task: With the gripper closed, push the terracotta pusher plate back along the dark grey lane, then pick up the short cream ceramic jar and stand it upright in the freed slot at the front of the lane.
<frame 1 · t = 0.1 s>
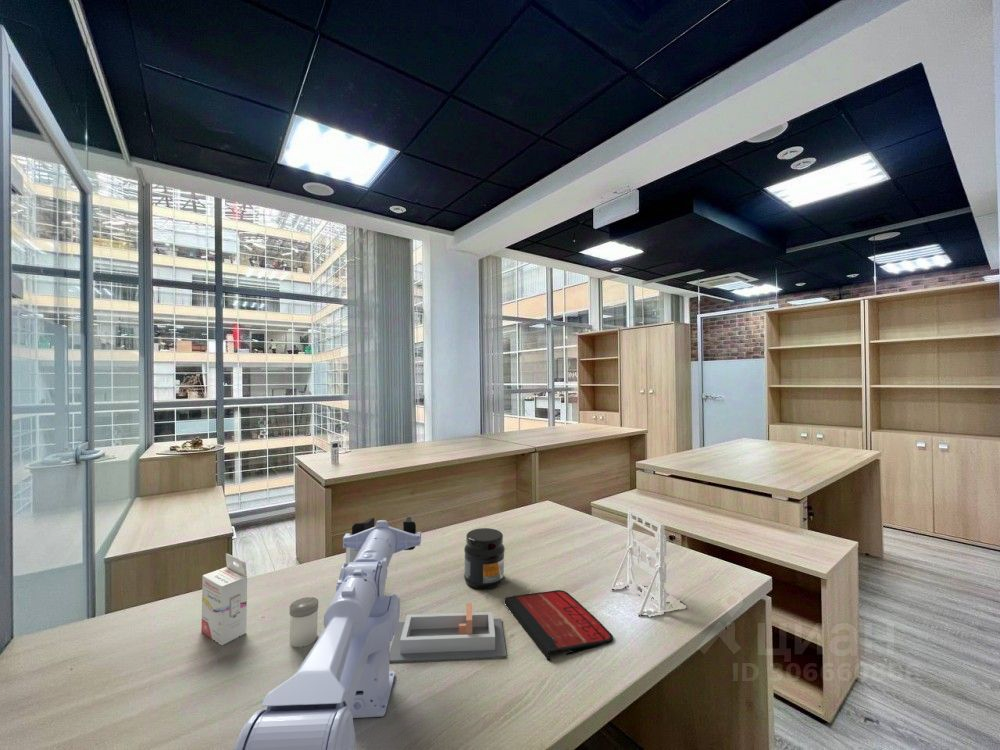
hand: (391, 521, 88), 22 cm above the table, tool horizontal, fingers open, 7 cm apart
ink cartridge box: (223, 634, 84), on the table
jar: (303, 639, 82), on the table
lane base: (448, 639, 82), on the table
skincare box: (359, 590, 101), on the table
pusher: (465, 624, 82), point 3 cm above the table, slide at 0.0 cm
supplement container: (484, 581, 107), on the table
binder: (556, 624, 89), on the table
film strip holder: (647, 599, 99), on the table
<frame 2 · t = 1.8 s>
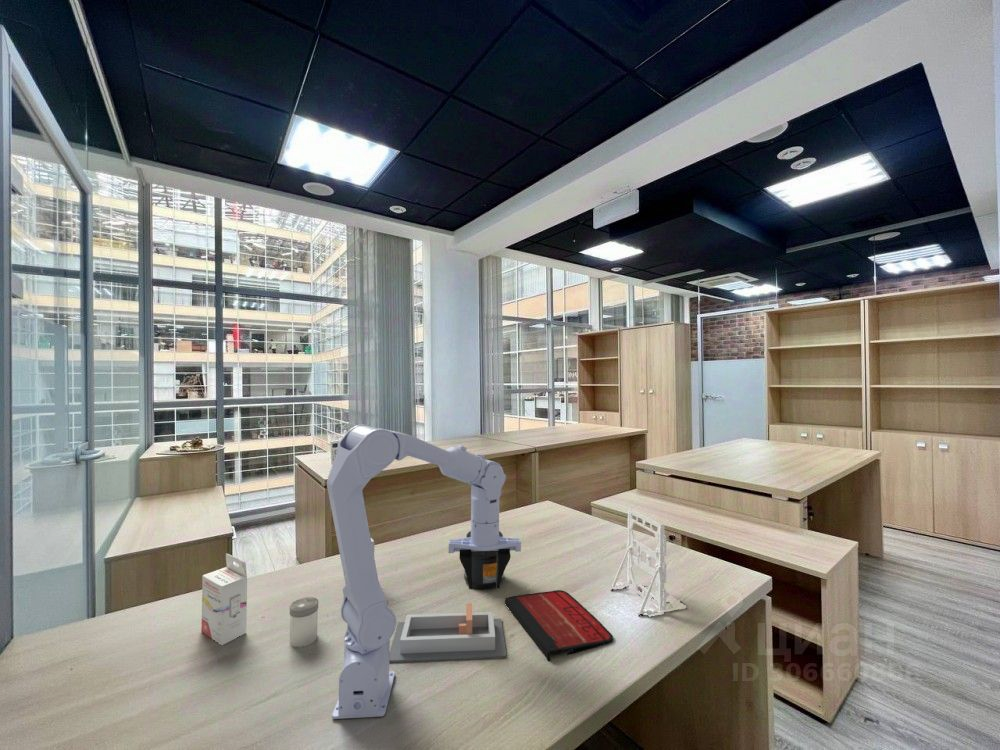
hand: (484, 586, 83), 10 cm above the table, tool pointing down, fingers open, 5 cm apart
nothing on the table moved.
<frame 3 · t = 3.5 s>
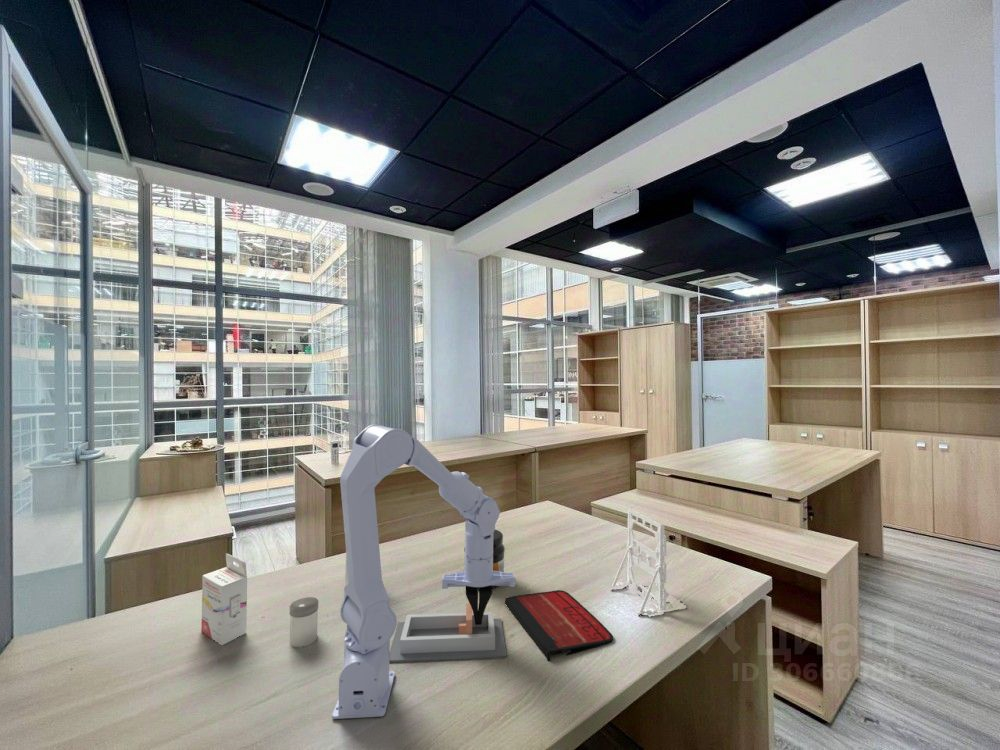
hand: (478, 621, 83), 3 cm above the table, tool pointing down, fingers closed
pusher: (465, 624, 82), point 3 cm above the table, slide at 0.0 cm, touching gripper
everything else where it was.
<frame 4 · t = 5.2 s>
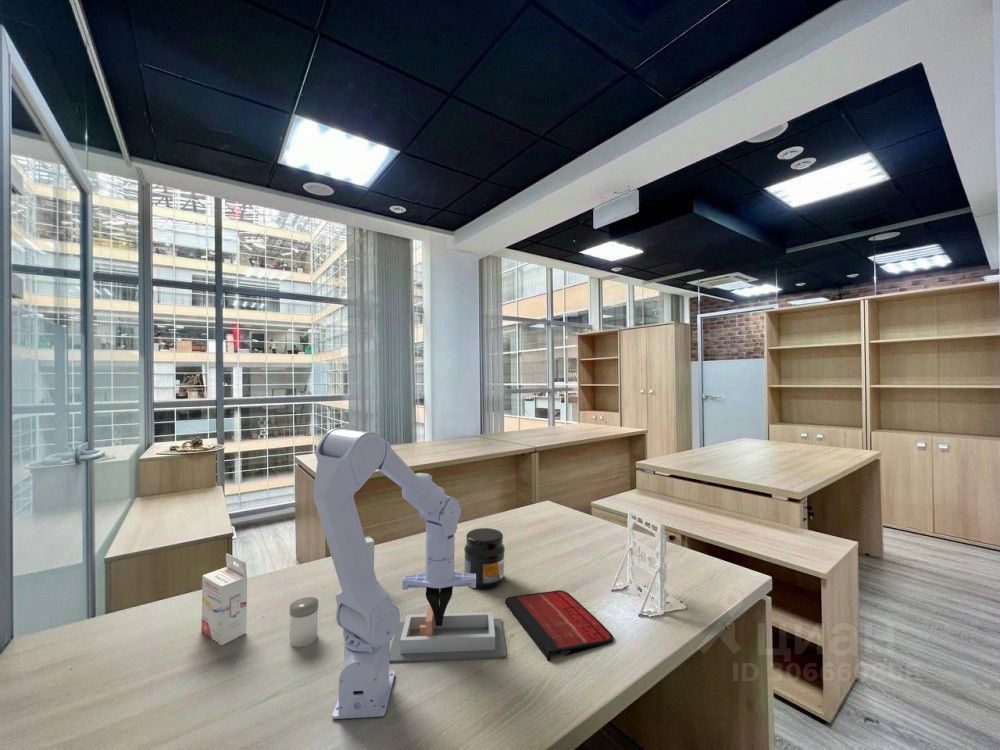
hand: (439, 623, 82), 3 cm above the table, tool pointing down, fingers closed
pusher: (426, 625, 82), point 3 cm above the table, slide at 7.8 cm, touching gripper
everything else where it was.
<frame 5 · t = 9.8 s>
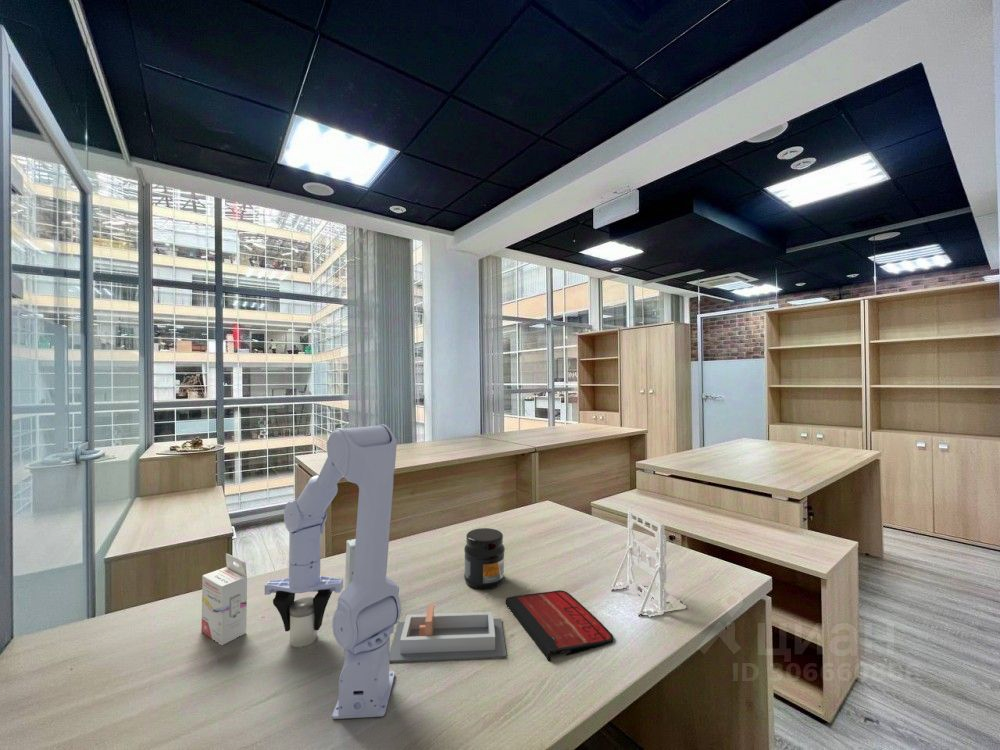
hand: (303, 627, 82), 2 cm above the table, tool pointing down, fingers closed on jar, 5 cm apart
jar: (303, 639, 82), on the table, touching gripper
pusher: (426, 625, 82), point 3 cm above the table, slide at 7.9 cm
everything else where it was.
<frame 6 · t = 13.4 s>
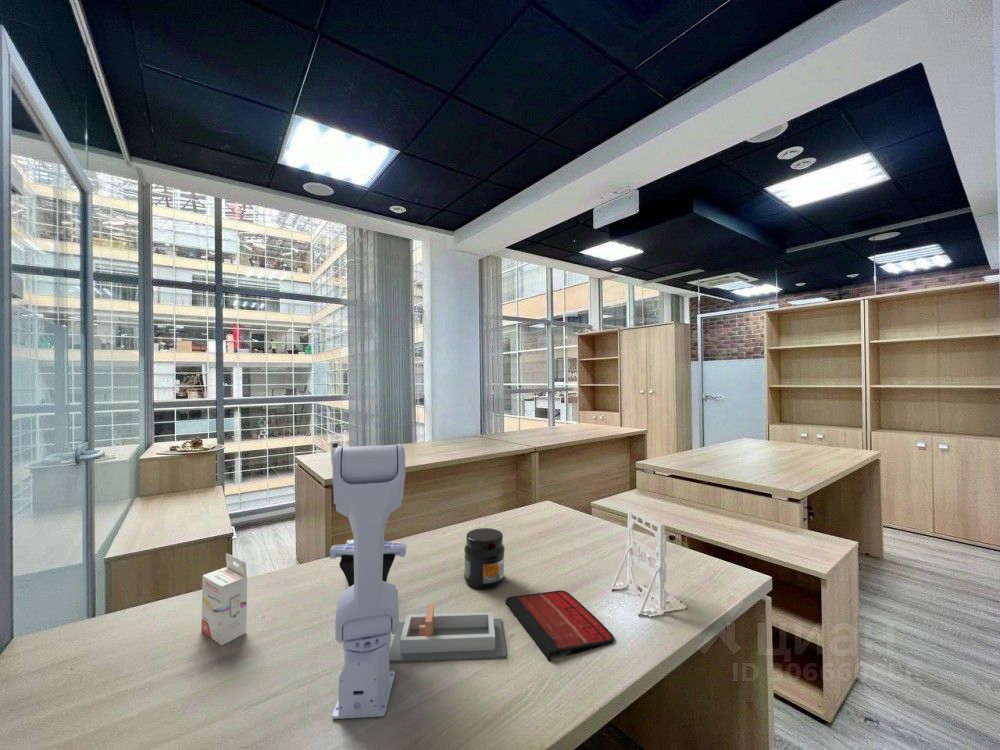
hand: (368, 592, 82), 9 cm above the table, tool pointing down, fingers closed on jar, 5 cm apart
jar: (368, 603, 82), point 7 cm above the table, touching gripper
everything else where it was.
when the fingers open (4 cm above the table, at t = 17.1 s): jar stays where it is, resting on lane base.
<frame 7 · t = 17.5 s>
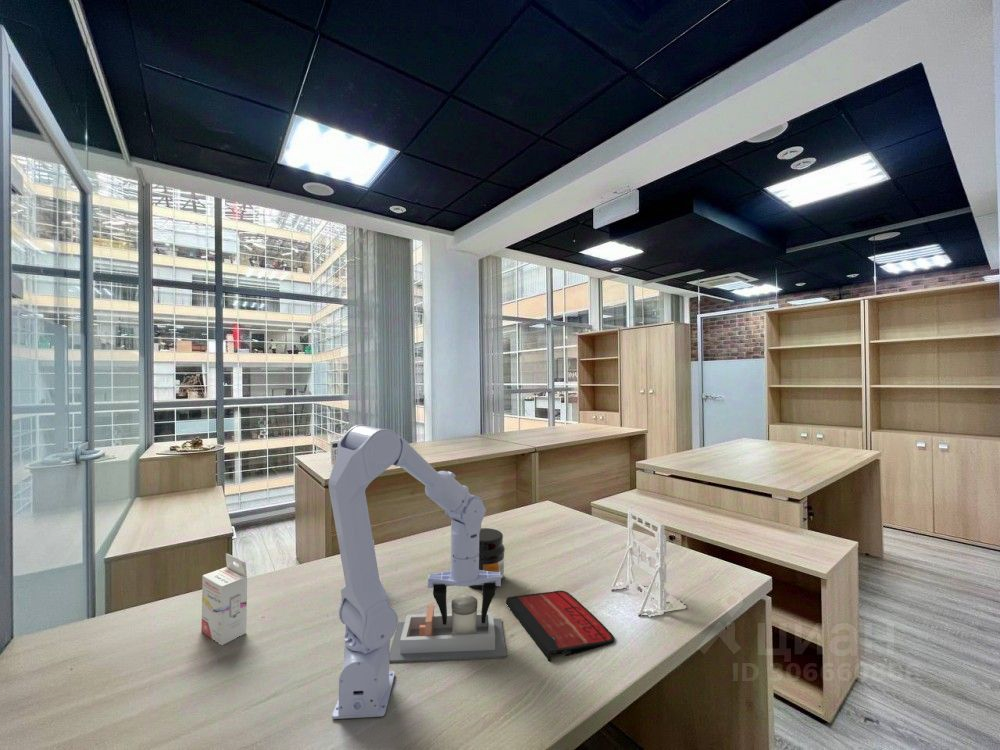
hand: (464, 621, 82), 4 cm above the table, tool pointing down, fingers open, 7 cm apart
jar: (463, 636, 83), resting on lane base
everything else where it was.
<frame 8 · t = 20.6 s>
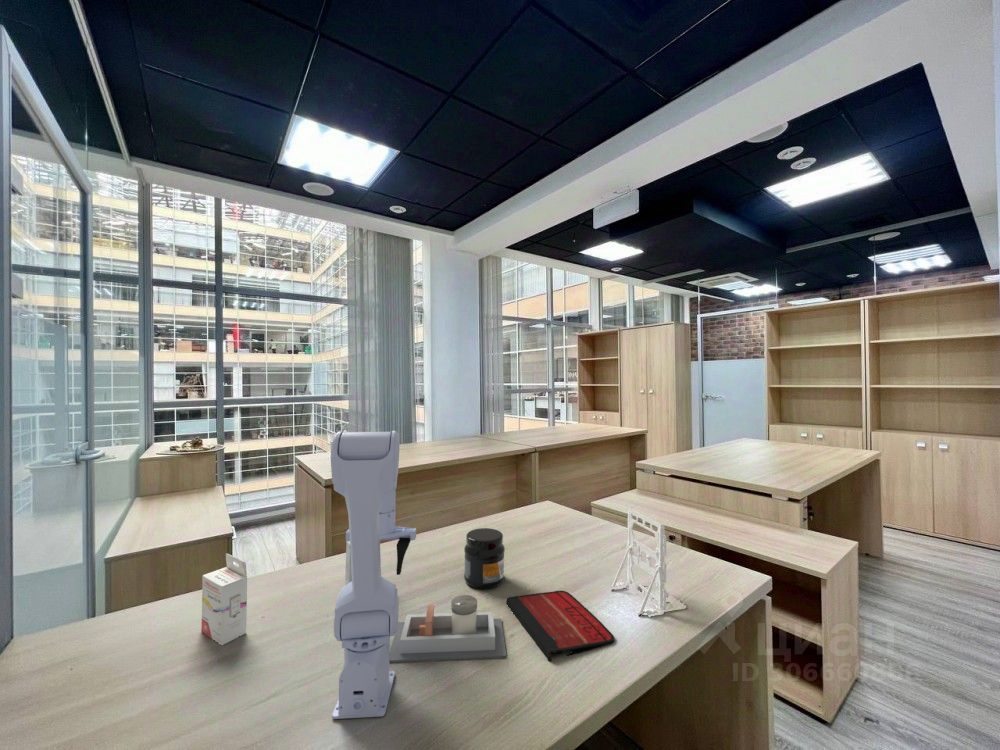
hand: (380, 573, 88), 10 cm above the table, tool pointing down, fingers open, 7 cm apart
nothing on the table moved.
at the end: jar inside the target area on the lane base (0.3 cm from its centre), point 0.4 cm above the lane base's base; jar tilted 0°; pusher slide at 7.9 cm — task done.
